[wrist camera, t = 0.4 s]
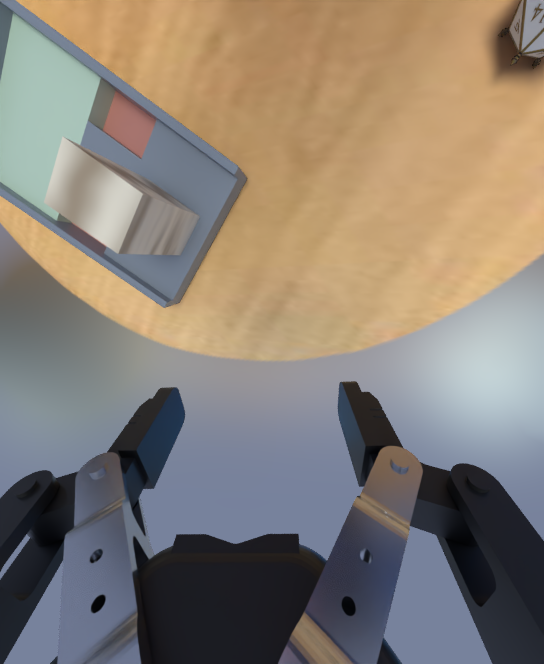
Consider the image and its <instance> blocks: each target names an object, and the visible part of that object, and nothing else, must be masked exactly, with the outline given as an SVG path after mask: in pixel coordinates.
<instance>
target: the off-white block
mask: <svg viewBox="0 0 544 664" xmlns="http://www.w3.org/2000/svg"><path fill="white" fill-rule="evenodd" d="M44 203H45V204H47V205H48V206H49V207H51V208H52V209H54V210H55V211H57V212H58V213H60V214H61V215H62V216H64V217H65V218H67V219H68V220H70V221H71V222H73V223H74V224H75V225H77V226H78V227H80V228H81V229H83V230H84V231H86V232H87V233H88V234H90V235H91V236H93V237H94V238H96V239H97V240H99V241H100V242H101V243H103V244H104V245H106V246H107V247H109V248H110V249H112V250H113V251H114V252H116V253H117V254H143V255H181V253H182V251H183V250H184V248H185V246H186V244H187V242H188V240H189V238H190V236H191V234H192V232H193V230H194V228H195V226H196V224H197V222H198V220H199V218H200V216H199V215H197V214H196V213H195V212H193V211H192V210H191V209H189V208H188V207H186V206H185V205H184V204H182V203H181V202H179V201H178V200H177V199H175V198H174V197H173V196H171V195H170V194H168V193H167V192H166V191H164V190H163V189H161V188H160V187H159V186H157V185H156V184H154V183H153V182H152V181H150V180H149V179H147V178H145V177H143V176H141V175H139V174H137V173H135V172H133V171H131V170H129V169H127V168H125V167H123V166H121V165H119V164H117V163H115V162H113V161H111V160H109V159H107V158H105V157H103V156H101V155H99V154H97V153H95V152H93V151H91V150H89V149H87V148H85V147H83V146H81V145H79V144H77V143H75V142H73V141H71V140H69V139H67V138H65V137H62V140H61V144H60V147H59V151H58V154H57V158H56V161H55V165H54V168H53V172H52V175H51V179H50V182H49V186H48V189H47V193H46V197H45V200H44Z"/></svg>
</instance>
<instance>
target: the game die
mask: <svg viewBox="0 0 544 664" xmlns="http://www.w3.org/2000/svg"><path fill="white" fill-rule="evenodd" d="M508 32H509V34H510V36H511V38H512V41H513V43H514V45H515V47H516V49H517V52H518V54H517V55H516V56H514V58H513V59H512V62H511V65H513V64H514V63H517V61H518V60H519V58H520V56H526V57H532V58H536V60H535V61H534V63H533V65H532V66H533V69H534V68H535V67H536V66H537V65H539V62H540V61H541V60H540V59H541V58H542V57H544V0H520V3H519V5H518V8H517V10H516V12H515V15H514V17H513V19H512V22H511V24H510V27H509V28H505V29H504V30H502V31H501V33H500V34H499V35H498V36H501V37H503V36H505V35H506V34H507V33H508ZM511 65H510V66H511Z"/></svg>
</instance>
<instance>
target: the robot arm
mask: <svg viewBox="0 0 544 664" xmlns="http://www.w3.org/2000/svg"><path fill="white" fill-rule="evenodd" d="M338 414H339V420H340V423H341V427H342V430H343V434H344V437H345V440H346V444H347V447H348V450H349V454H350V457H351V461H352V464H353V467H354V470H355V474H356V478H357V481H358V484H359V486H364V488H363V490H362V493H361V495H360V496H357V498H356V499H355V501H354V503H353V505H352V507H351V510H350V512H349V514H348V516H347V518H346V521H345V523H344V525H343V527H342V529H341V532H340V534H339V536H338V539H337V541H336V543H335V545H334V547H333V549H332V552H331V554H330V556H329V558H328V560H327V561H326V560H325V559H324V558H323V557H322V556H321V555H319V554H318V553H317V552H315V551H313V550H312V549H310V548H308V547H306V546H303V545H300V544H299V536H298V534H267V535H263V536H260V537H257V538H254V539H251V540H248V541H245V542H242V543H239V544H233V543H230V542H227V541H224V540H221V539H218V538H215V537H212V536H209V535H206V534H201V535H200V534H191V535H190V534H189V535H188V534H184V535H183V534H182V535H181V534H180V535H176V538H175V541H174V544H173V546H171V547H169V548H167V549H165V550H163V551H161V552H159V553H158V554H156V555H154V552H153V549H152V547H151V544H150V540H149V536H148V531H147V526H146V521H145V517H144V512H143V507H142V503H141V499H140V497H139V496H140V494H141V492H142V490H143V489H154V487H155V485H156V483H157V480H158V478H159V476H160V474H161V472H162V469H163V467H164V465H165V463H166V461H167V458H168V456H169V454H170V452H171V450H172V447H173V445H174V443H175V441H176V439H177V436H178V434H179V432H180V430H181V427H182V425H183V423H184V419H185V410H184V407H183V403H182V400H181V397H180V393H179V390H178V389H177V388H175V387H173V388H172V387H171V388H160V389H159V390H158V392H157V393H156V395H155V396H154V397H153V399H148V400H147V401H146V402H145V403H143V404H142V405H141V406H140V407H139V408H138V410H137V411H136V412H135V414H134V416H133V417H132V418H131V419H130V421H129V422H128V424H127V425H126V426H125V428H124V429H123V431H122V432H121V433H120V435H119V436H118V438H117V439H116V440H115V442H114V443H113V445H112V446H111V447H110V449H109V450H108V452H107V453H103V454H100V455H98V456H96V457H94V458H92V459H91V460H89V461H88V462H87V463H86V464H85V465H83V467H82V468H81V469H80V470H79V471H78V472H75V473H72V474H69V475H65V476H62V477H58V478H55V477H54V476H53V474H52V473H51V472H50V471H47V470H43V471H38V472H35V473H32V474H30V475H28V476H26V477H24V478H23V479H21V480H20V481H18V482H17V483H15V484H14V485H13V486H12V487H11V488H10V489H9V490H8V491H7V492H6V493H5V494H4V495H3V496H2V497H1V498H0V571H1V569H2V567H3V566H4V564H5V563H6V561H7V560H8V559H9V557H10V556H11V554H12V553H13V552H14V550H15V549H16V548H17V546H18V545H19V544H20V542H21V541H22V540H23V538H24V537H25V535H26V534H27V535H28V536H29V537H30V539H29V541H28V542H27V543H26V545H25V546H24V547H23V549H22V550H21V552H20V553H19V554H18V556H17V557H16V559H15V560H14V561H13V563H12V564H11V566H10V567H9V569H8V570H7V572H6V573H5V574H4V575H3V577H2V578H1V580H0V664H3V663H4V662H5V660H6V658H7V656H8V655H9V653H10V651H11V650H12V648H13V646H14V644H15V642H16V641H17V639H18V637H19V636H20V634H21V632H22V630H23V629H24V627H25V625H26V623H27V622H28V620H29V618H30V616H31V615H32V613H33V611H34V610H35V608H36V606H37V604H38V603H39V601H40V599H41V597H42V596H43V594H44V592H45V590H46V588H47V587H48V585H49V583H50V582H51V580H52V578H53V577H54V575H55V573H56V571H57V570H58V568H59V566H60V564H61V563H62V561H63V575H62V592H61V609H60V626H59V645H58V656H57V657H56V658H55V659H54V660H53V661H52V662H51V663H50V664H402V663H401V662H400V660H399V659H398V657H397V656H396V654H395V653H394V652H393V650H392V649H391V647H390V646H389V645H388V643H387V642H386V640H385V639H384V632H385V628H386V624H387V620H388V616H389V612H390V608H391V604H392V600H393V596H394V592H395V588H396V583H397V580H398V576H399V572H400V567H401V563H402V559H403V555H404V551H405V547H406V543H407V538H408V535H409V526H412V527H415V528H418V529H421V530H424V531H426V532H430V533H432V534H435V535H436V536H437V538H438V540H439V543H440V545H441V547H442V549H443V552H444V554H445V556H446V558H447V561H448V563H449V565H450V568H451V570H452V572H453V574H454V577H455V579H456V581H457V584H458V586H459V588H460V591H461V593H462V595H463V597H464V600H465V602H466V604H467V606H468V608H469V611H470V613H471V616H472V618H473V620H474V623H475V625H476V627H477V629H478V632H479V634H480V636H481V639H482V641H483V643H484V645H485V648H486V650H487V652H488V655H489V657H490V659H491V661H492V663H493V664H544V541H543V540H542V538H541V537H540V535H539V534H538V533H537V532H536V530H535V529H534V528H533V526H532V525H531V524H530V522H529V521H528V520H527V518H526V517H525V516H524V514H523V513H522V512H521V510H520V509H519V508H518V506H517V505H516V504H515V502H514V501H513V500H512V498H511V497H510V496H509V495H508V493H507V492H506V491H505V489H504V488H503V487H502V485H501V484H500V483H499V482H498V481H497V480H496V479H495V478H494V477H493V476H492V475H491V474H489V473H488V472H486V471H485V470H483V469H481V468H479V467H476V466H474V465H470V464H457V465H455V466H453V468H452V469H451V471H447V470H443V469H439V468H435V467H432V466H429V465H425V464H423V463H421V462H419V460H418V459H417V458H416V457H415V456H414V455H413V454H412V453H410V452H409V451H408V450H406V449H404V448H403V446H402V445H401V443H400V441H399V439H398V437H397V435H396V433H395V431H394V430H393V428H392V426H391V424H390V422H389V420H388V418H386V414H385V413H384V411H383V410H382V407H381V405H380V403H379V401H378V400H377V399H376V398H375V397H374V396H373V395H372V394H371V393H370V392H361V390H360V387H359V385H358V383H357V382H355V381H353V382H340V385H339V397H338Z"/></svg>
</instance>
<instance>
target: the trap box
mask: <svg viewBox="0 0 544 664" xmlns="http://www.w3.org/2000/svg"><path fill="white" fill-rule="evenodd" d="M62 137H65V138H67V139H69V140H71V141H73V142H75V143H77V144H79V145H81V146H83V147H85V148H87V149H89V150H91V151H93V152H95V153H97V154H99V155H101V156H103V157H105V158H107V159H109V160H111V161H113V162H115V163H117V164H119V165H121V166H123V167H125V168H127V169H129V170H131V171H133V172H135V173H137V174H139V175H141V176H143V177H145V178H147V179H149V180H150V181H152V182H153V183H154V184H156V185H157V186H159V187H160V188H161V189H163V190H164V191H166V192H167V193H168V194H170V195H171V196H173V197H174V198H175V199H177V200H178V201H179V202H181V203H182V204H184V205H185V206H186V207H188V208H189V209H191V210H192V211H193V212H195V213H196V214H197V215H199V216H200V218H199V220H198V222H197V224H196V226H195V228H194V230H193V232H192V234H191V236H190V238H189V240H188V242H187V244H186V246H185V248H184V250H183V251H182V253H181V255H143V254H117V253H116V252H114V251H113V250H112V249H110V248H109V247H107V246H106V245H104V244H103V243H101V242H100V241H99V240H97V239H96V238H94V237H93V236H91V235H90V234H88V233H87V232H86V231H84V230H83V229H81V228H80V227H78V226H77V225H75V224H74V223H73V222H71V221H70V220H68V219H67V218H65V217H64V216H62V215H61V214H60V213H58V212H57V211H55V210H54V209H52V208H51V207H49V206H48V205H47V204H45V203H44V200H45V197H46V193H47V189H48V186H49V182H50V179H51V175H52V172H53V168H54V165H55V161H56V158H57V154H58V151H59V147H60V144H61V140H62ZM246 180H247V177H246V176H245V175H244V173H243V172H242V171H241V169H240V168H239V167H238V166H237V165H236V164H234V163H233V162H232V161H230V160H229V159H228V158H226V157H225V156H224V155H222V154H221V153H220V152H218V151H217V150H216V149H214V148H213V147H212V146H210V145H209V144H208V143H206V142H205V141H204V140H202V139H201V138H199V137H198V136H197V135H195V134H194V133H193V132H191V131H190V130H189V129H187V128H186V127H185V126H183V125H182V124H181V123H179V122H178V121H177V120H175V119H174V118H173V117H171V116H170V115H169V114H167V113H166V112H165V111H163V110H162V109H161V108H159V107H158V106H157V105H155V104H154V103H152V102H151V101H150V100H148V99H147V98H146V97H144V96H143V95H142V94H140V93H139V92H138V91H136V90H135V89H134V88H132V87H131V86H130V85H128V84H127V83H126V82H124V81H123V80H122V79H120V78H119V77H118V76H116V75H115V74H114V73H112V72H111V71H109V70H108V69H107V68H105V67H104V66H103V65H101V64H100V63H99V62H97V61H96V60H95V59H93V58H92V57H91V56H89V55H88V54H87V53H85V52H84V51H83V50H81V49H80V48H79V47H77V46H76V45H75V44H73V43H72V42H71V41H69V40H68V39H67V38H65V37H64V36H62V35H61V34H60V33H58V32H57V31H56V30H54V29H53V28H52V27H50V26H49V25H48V24H46V23H45V22H44V21H42V20H41V19H40V18H38V17H37V16H36V15H34V14H33V13H32V12H30V11H29V10H28V9H26V8H25V7H24V6H22V5H21V4H19V3H18V2H17V1H15V0H0V196H2V197H3V198H5V199H6V200H8V201H9V202H10V203H12V204H13V205H15V206H16V207H18V208H19V209H21V210H22V211H24V212H25V213H27V214H28V215H29V216H31V217H32V218H34V219H35V220H37V221H38V222H40V223H41V224H43V225H44V226H45V227H47V228H48V229H50V230H51V231H53V232H54V233H56V234H57V235H59V236H60V237H62V238H63V239H64V240H66V241H67V242H69V243H70V244H72V245H73V246H75V247H76V248H78V249H79V250H80V251H82V252H83V253H85V254H86V255H88V256H89V257H91V258H92V259H94V260H95V261H97V262H98V263H99V264H101V265H102V266H104V267H105V268H107V269H108V270H110V271H111V272H113V273H114V274H115V275H117V276H118V277H120V278H121V279H123V280H124V281H126V282H127V283H129V284H130V285H132V286H133V287H134V288H136V289H137V290H139V291H140V292H142V293H143V294H145V295H146V296H148V297H149V298H150V299H152V300H153V301H155V302H156V303H158V304H159V305H161V306H162V307H164V308H165V307H168V306H171V305H174V304H177V303H180V301H181V299H182V297H183V295H184V293H185V292H186V290H187V288H188V286H189V284H190V282H191V281H192V279H193V277H194V275H195V273H196V272H197V270H198V268H199V266H200V264H201V262H202V261H203V259H204V257H205V255H206V253H207V251H208V250H209V248H210V246H211V244H212V242H213V240H214V239H215V237H216V235H217V233H218V231H219V230H220V228H221V226H222V224H223V222H224V220H225V219H226V217H227V215H228V213H229V211H230V209H231V208H232V206H233V204H234V202H235V200H236V199H237V197H238V195H239V193H240V191H241V189H242V188H243V186H244V184H245V182H246Z"/></svg>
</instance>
